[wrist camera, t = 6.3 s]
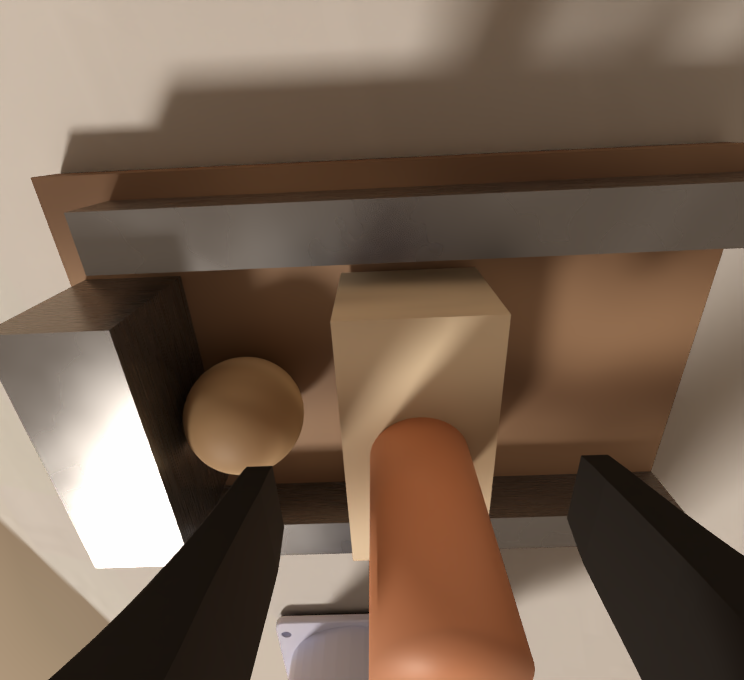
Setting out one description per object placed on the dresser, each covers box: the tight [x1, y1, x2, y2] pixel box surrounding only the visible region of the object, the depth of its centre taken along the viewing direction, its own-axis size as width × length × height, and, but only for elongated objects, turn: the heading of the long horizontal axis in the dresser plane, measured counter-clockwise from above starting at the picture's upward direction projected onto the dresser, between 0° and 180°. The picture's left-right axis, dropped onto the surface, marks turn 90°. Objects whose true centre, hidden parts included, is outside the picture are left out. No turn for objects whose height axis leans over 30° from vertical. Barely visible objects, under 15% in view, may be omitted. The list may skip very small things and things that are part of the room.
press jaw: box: [330, 267, 535, 680], centre depth 11 cm, size 8×4×9 cm, turn 2°
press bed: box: [0, 142, 744, 568], centre depth 14 cm, size 14×20×5 cm
